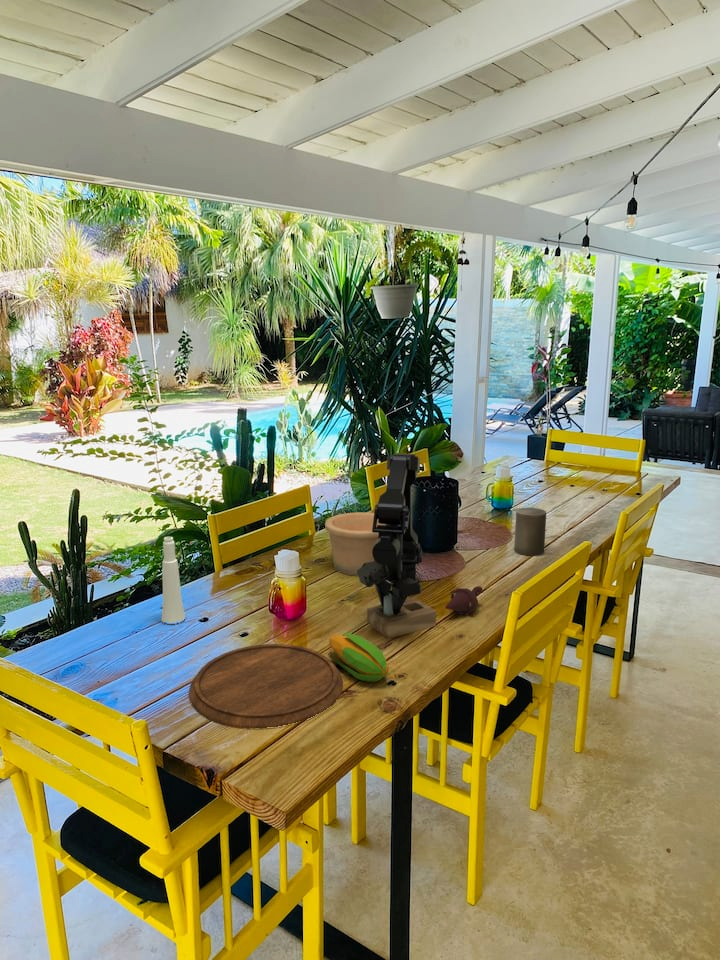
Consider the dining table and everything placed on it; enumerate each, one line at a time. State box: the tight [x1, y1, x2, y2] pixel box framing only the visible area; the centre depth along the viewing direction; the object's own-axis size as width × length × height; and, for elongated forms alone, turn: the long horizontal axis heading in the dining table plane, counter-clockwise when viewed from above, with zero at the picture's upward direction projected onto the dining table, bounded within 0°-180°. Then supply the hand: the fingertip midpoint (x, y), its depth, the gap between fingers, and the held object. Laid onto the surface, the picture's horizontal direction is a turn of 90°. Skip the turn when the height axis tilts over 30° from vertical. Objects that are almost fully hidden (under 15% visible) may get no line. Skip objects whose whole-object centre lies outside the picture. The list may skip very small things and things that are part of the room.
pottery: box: [324, 511, 386, 577], centre depth 218 cm, size 22×22×14 cm
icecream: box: [445, 585, 483, 616], centre depth 185 cm, size 7×7×15 cm
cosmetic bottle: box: [161, 536, 186, 623], centre depth 179 cm, size 6×6×22 cm
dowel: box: [384, 594, 394, 616], centre depth 177 cm, size 3×3×8 cm
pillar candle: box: [513, 507, 547, 557], centre depth 232 cm, size 10×10×15 cm
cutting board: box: [188, 643, 344, 729], centre depth 150 cm, size 32×32×3 cm
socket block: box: [366, 597, 437, 639], centre depth 179 cm, size 10×14×4 cm
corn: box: [327, 632, 390, 683], centre depth 156 cm, size 7×8×20 cm
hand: (389, 610), depth 176 cm, fingers open, 5 cm apart
